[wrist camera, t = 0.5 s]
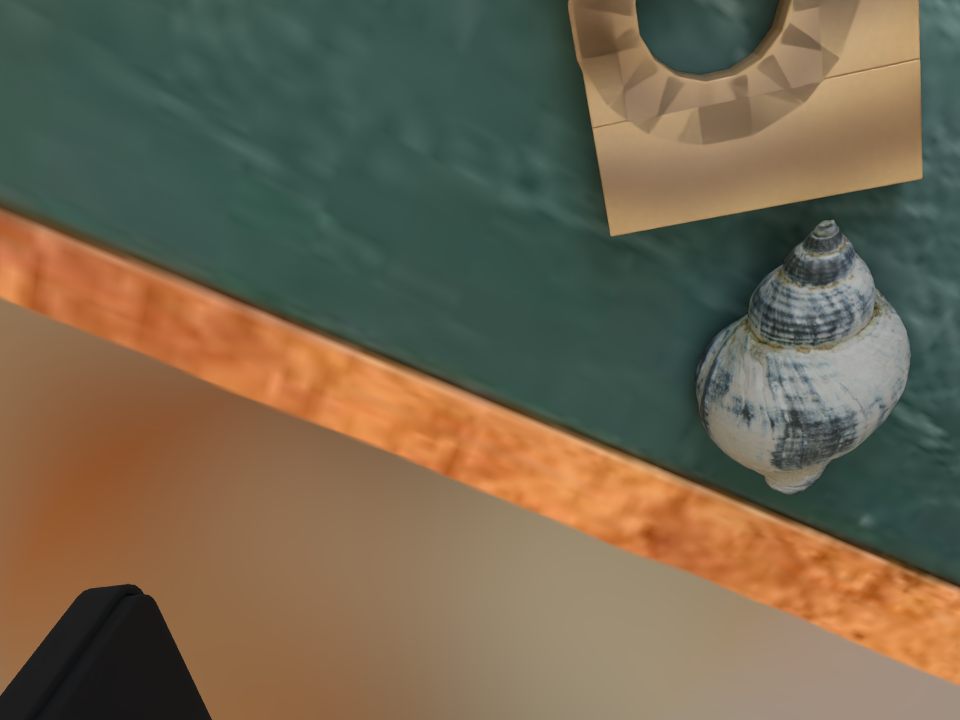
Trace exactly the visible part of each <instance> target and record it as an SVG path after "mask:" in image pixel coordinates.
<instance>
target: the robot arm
mask: <svg viewBox="0 0 960 720" xmlns="http://www.w3.org/2000/svg"><path fill="white" fill-rule="evenodd" d="M0 720H212V719H211V717H210V715H209V713H208V711H207V709H206V706H205V704H204V702H203V700H202V698H201V696H200V694H199V692H198V690H197V688H196V685H195V683H194V681H193V679H192V677H191V675H190V673H189V671H188V669H187V667H186V664H185V662H184V660H183V658H182V656H181V654H180V652H179V650H178V648H177V646H176V643H175V641H174V639H173V637H172V635H171V633H170V631H169V629H168V627H167V624H166V622H165V621H164V618H163V616H162V614H161V612H160V610H159V608H158V606H157V604H156V602H155V600H154V599H153V598H152V597H151V596H149V595H144V593H143V592H142V590H141V589H140V588H138V587H137V586H135V585H130V584H126V585H117V586H109V587H100V588H91V589H88V590H85V591H83V592H82V593H81V594H80V595H79V596H78V597H77V598H76V599H75V601H74V602H73V603H72V605H71V606H70V607H69V608H68V610H67V611H66V612H65V614H64V615H63V616H62V617H61V619H60V620H59V621H58V622H57V624H56V625H55V626H54V628H53V629H52V630H51V631H50V633H49V634H48V635H47V637H46V638H45V639H44V641H43V642H42V643H41V644H40V646H39V647H38V648H37V649H36V651H35V652H34V653H33V655H32V656H31V657H30V658H29V660H28V661H27V662H26V664H25V665H24V666H23V668H22V669H21V670H20V671H19V673H18V674H17V675H16V676H15V678H14V679H13V680H12V682H11V683H10V684H9V685H8V687H7V688H6V689H5V691H4V692H3V693H2V694H1V696H0Z"/></svg>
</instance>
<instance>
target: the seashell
mask: <svg viewBox="0 0 960 720" xmlns="http://www.w3.org/2000/svg"><path fill="white" fill-rule="evenodd" d="M910 360H911V345H910V342H909V339H908V336H907V333H906V329H905V327H904V325H903V323H902V321H901V319H900V317H899V315H898V313H897V312H896V311H895V309H894V308H893V307H892V305H891V304H890V303H889V302H888V301H887V300H886V299H885V298H884V296H883V294H882V293H881V292H879V291H878V290H877V289H876V288H875V285H874V280H873V277H872V275H871V273H870V270H869V268H868V266H867V264H866V263H865V262H864V261H863V260H862V259H861V258H860V257H859V256H858V254H857V253H855V252H854V248H853V244H852V243H851V242H850V241H849V239H848V238H847V237H846V236H844V235H843V234H842V232H841V230H840V228H839V227H838V226H837V225H836V223H835V221H834V220H828V221H822V222H821V223H820V224H818V225H817V226H816V227H815V229H814V231H812V232H811V233H810V234H808V236H807V237H806V238H805V240H804V241H803V242H801V243H800V244H798V245H797V246H795V247H794V248H793V249H792V250H791V251H790V252H789V254H788V255H787V256H786V258H785V260H784V264H783V265H781V266H779V267H778V268H776V269H775V270H773V271H772V272H770V273H769V274H768V275H766V276H765V278H764V279H763V280H762V281H761V282H760V283H759V285H758V286H757V287H756V289H755V290H754V292H753V294H752V296H751V298H750V302H749V310H748V314H746V315H744V316H743V317H741V318H739V319H738V320H736V321H735V322H733V323H731V324H729V325H728V326H726V327H725V328H724V329H723V330H721V331H720V332H719V333H718V334H717V335H716V336H715V337H714V338H713V339H712V340H711V341H710V342H709V344H708V345H707V347H706V349H705V350H704V352H703V354H702V356H701V358H700V360H699V362H698V366H697V369H696V373H695V383H696V385H695V390H696V396H697V399H698V403H699V412H700V417H701V421H702V425H703V427H704V429H705V431H706V433H707V434H708V436H709V438H710V439H711V440H712V441H713V442H714V443H715V444H716V445H717V446H718V447H719V448H720V449H721V450H722V451H723V452H725V453H726V454H727V455H728V456H729V457H731V458H732V459H733V460H735V461H736V462H738V463H740V464H742V465H743V466H745V467H747V468H749V469H751V470H754V471H756V472H758V473H760V474H762V475H764V477H765V480H766V482H767V484H768V485H769V486H770V487H771V488H772V489H774V490H778V491H780V492H782V493H785V494H788V495H796V494H797V493H799V492H800V491H804V490H805V489H807V488H808V487H809V486H811V485H814V484H815V483H816V482H817V480H818V479H819V477H820V476H821V474H822V472H823V471H824V469H825V468H826V466H827V465H828V464H829V463H830V462H831V461H832V459H834V458H837V457H840V456H842V455H844V454H846V453H848V452H850V451H852V450H853V449H855V448H856V447H857V446H858V445H860V444H861V443H862V442H863V441H864V440H866V439H867V438H868V437H869V436H870V435H871V434H872V433H873V432H874V431H875V430H876V429H877V428H878V427H879V426H880V425H881V424H882V423H883V422H884V421H885V420H886V419H887V417H888V416H889V414H890V413H891V412H892V410H893V409H894V408H895V406H896V405H897V403H898V401H899V399H900V397H901V395H902V394H903V392H904V389H905V385H906V382H907V378H908V373H909V368H910Z"/></svg>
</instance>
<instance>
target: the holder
mask: <svg viewBox="0 0 960 720" xmlns="http://www.w3.org/2000/svg"><path fill="white" fill-rule="evenodd" d="M568 12H569V18H570V23H571V29H572V35H573V41H574V47H575V52H576V58H577V62H578V65H579V66H580V68H581V69H582V72H583V78H584V84H585V90H586V96H587V102H588V107H589V113H590V119H591V125H592V131H593V137H594V142H595V148H596V154H597V160H598V166H599V172H600V177H601V183H602V189H603V195H604V201H605V207H606V212H607V218H608V224H609V230H610V236H617V235H622V234H628V233H633V232H639V231H644V230H649V229H655V228H660V227H666V226H671V225H676V224H682V223H687V222H693V221H698V220H703V219H709V218H714V217H720V216H725V215H730V214H736V213H741V212H747V211H752V210H757V209H763V208H768V207H774V206H779V205H784V204H790V203H795V202H801V201H806V200H811V199H817V198H822V197H828V196H833V195H838V194H844V193H849V192H855V191H860V190H865V189H871V188H876V187H882V186H887V185H892V184H898V183H903V182H909V181H914V180H919V179H922V178H923V177H922V122H921V67H920V59H919V58H920V27H919V0H779V3H778V7H777V10H776V13H775V17H774V20H773V24H772V27H771V28H770V30H769V31H768V33H767V34H766V35H765V37H764V38H763V39H762V41H761V42H760V43H759V45H758V46H757V47H756V49H755V50H754V51H753V53H751V54H750V55H748V56H747V57H745V58H744V59H742V60H741V61H739V62H738V63H736V64H735V65H733V66H732V67H730V68H729V69H725V70H720V71H716V72H711V73H707V74H702V75H698V74H692V73H687V72H682V71H677V70H673V69H671V68H670V67H669V66H667V65H666V64H664V63H663V62H661V61H660V60H659V59H657V58H656V57H654V56H653V55H652V54H651V53H650V51H649V49H648V48H647V46H646V44H645V43H644V41H643V39H642V37H641V36H640V32H639V25H638V18H637V11H636V0H569V1H568Z"/></svg>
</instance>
